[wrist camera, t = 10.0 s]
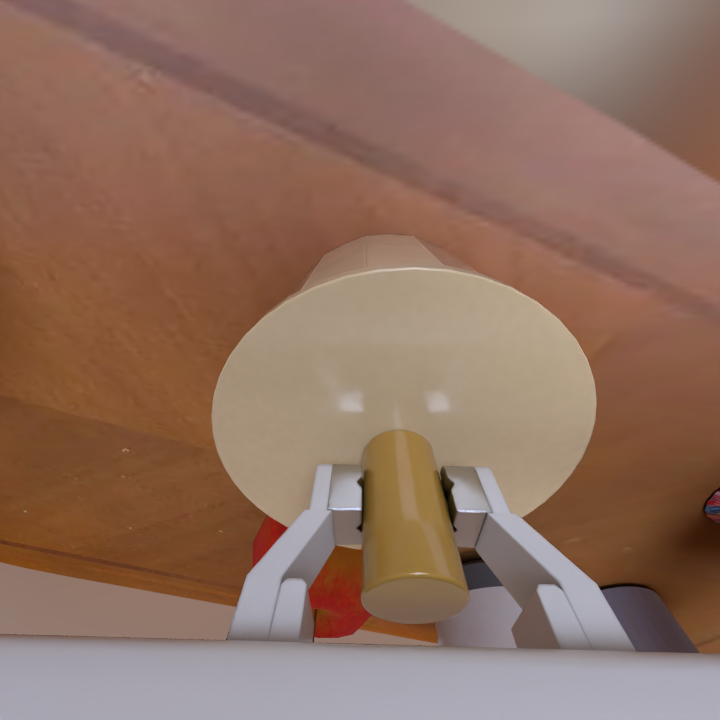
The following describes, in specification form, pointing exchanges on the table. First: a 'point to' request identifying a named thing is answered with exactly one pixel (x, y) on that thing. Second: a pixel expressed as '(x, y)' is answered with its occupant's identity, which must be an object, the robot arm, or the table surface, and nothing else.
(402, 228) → the table surface
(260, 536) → the apple
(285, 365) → the tin lid
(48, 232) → the table surface
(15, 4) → the table surface
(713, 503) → the vase
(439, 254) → the tin
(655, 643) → the purple grey tall cylinder
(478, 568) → the planter
